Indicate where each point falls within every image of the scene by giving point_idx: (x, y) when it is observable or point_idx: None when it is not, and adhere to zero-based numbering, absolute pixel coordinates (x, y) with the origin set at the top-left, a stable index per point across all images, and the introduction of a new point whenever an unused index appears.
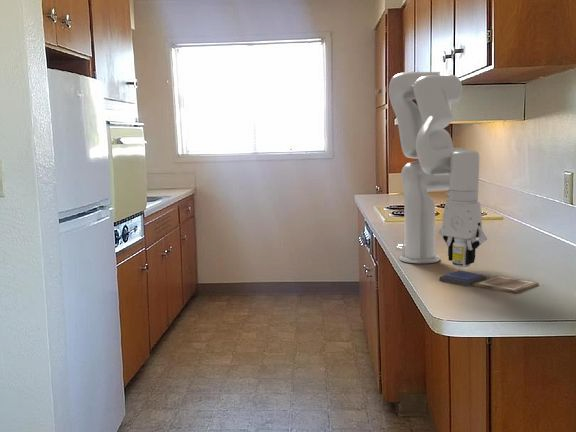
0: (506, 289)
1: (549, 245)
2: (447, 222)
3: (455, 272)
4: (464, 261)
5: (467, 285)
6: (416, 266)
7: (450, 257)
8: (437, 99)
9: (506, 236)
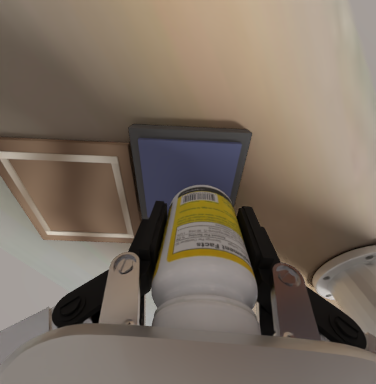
0: (10, 142)
1: None
2: None
3: None
4: (173, 208)
5: (135, 124)
6: (360, 229)
7: (245, 214)
8: None
9: None
